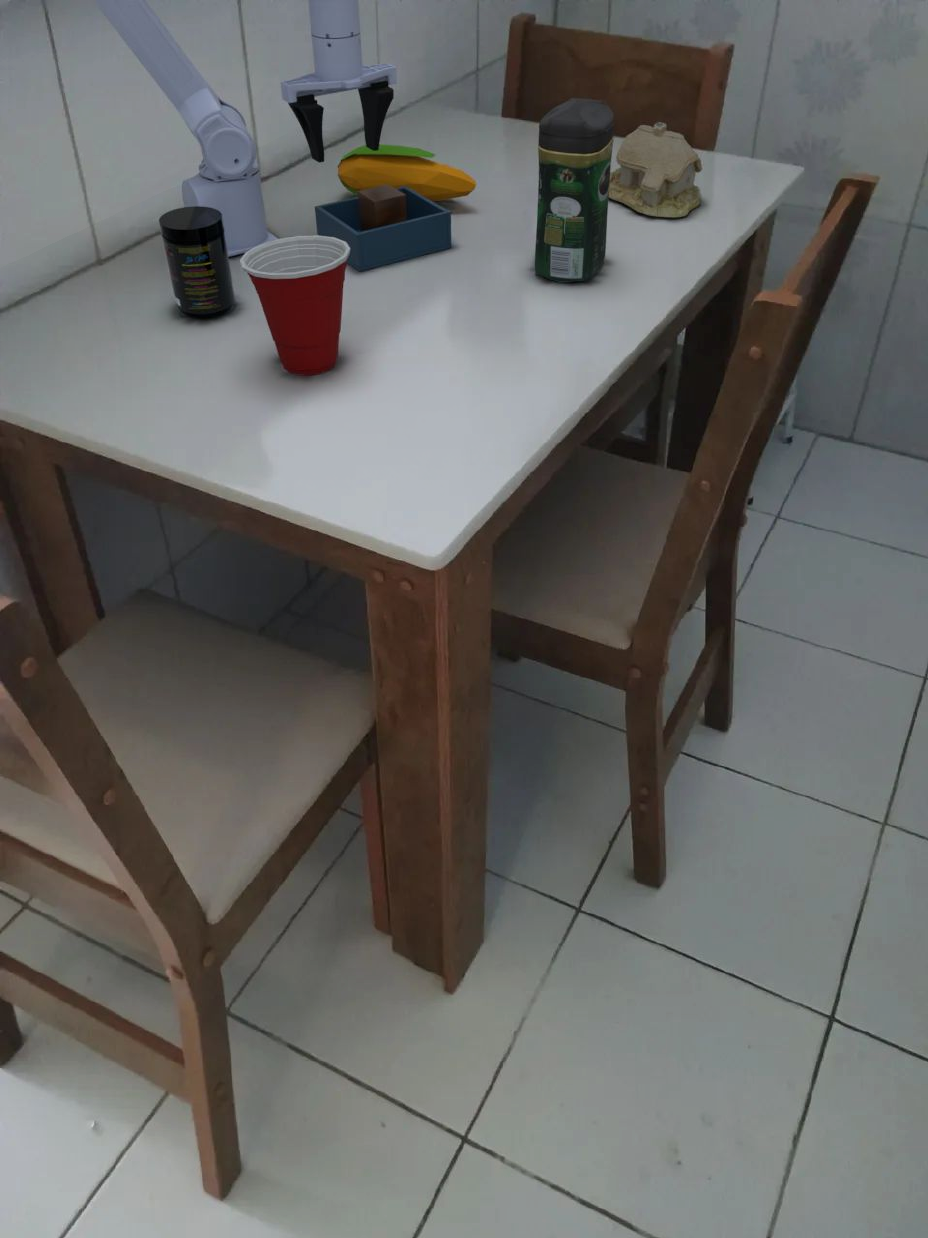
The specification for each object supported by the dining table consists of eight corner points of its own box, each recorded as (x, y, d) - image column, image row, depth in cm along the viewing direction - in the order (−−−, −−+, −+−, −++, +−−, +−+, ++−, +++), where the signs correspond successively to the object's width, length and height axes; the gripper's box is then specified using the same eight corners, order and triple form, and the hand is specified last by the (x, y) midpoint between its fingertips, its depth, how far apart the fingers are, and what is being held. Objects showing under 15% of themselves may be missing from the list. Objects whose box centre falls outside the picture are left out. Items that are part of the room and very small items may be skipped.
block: (377, 250, 132) (374, 201, 128) (361, 238, 135) (357, 190, 131) (408, 242, 134) (406, 194, 130) (391, 231, 137) (388, 183, 133)
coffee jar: (549, 249, 133) (556, 89, 121) (610, 257, 131) (624, 95, 119) (525, 279, 126) (530, 113, 114) (589, 289, 124) (601, 120, 112)
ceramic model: (717, 201, 145) (729, 124, 138) (670, 224, 139) (679, 144, 132) (634, 177, 152) (641, 103, 146) (585, 199, 146) (590, 121, 140)
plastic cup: (308, 329, 117) (296, 220, 109) (380, 357, 112) (373, 245, 104) (234, 366, 111) (215, 253, 103) (306, 398, 106) (292, 282, 98)
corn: (347, 128, 146) (485, 142, 141) (353, 184, 151) (486, 199, 146) (325, 149, 141) (467, 164, 136) (332, 205, 146) (469, 222, 141)
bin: (359, 271, 129) (356, 234, 126) (318, 241, 136) (314, 206, 133) (451, 247, 134) (451, 211, 131) (407, 219, 141) (405, 185, 138)
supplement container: (246, 312, 121) (231, 220, 114) (189, 327, 118) (171, 234, 111) (223, 291, 125) (208, 201, 118) (168, 304, 122) (149, 214, 115)
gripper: (294, 48, 118) (307, 174, 127) (406, 30, 124) (411, 151, 133) (267, 36, 123) (282, 158, 132) (377, 19, 129) (384, 137, 138)
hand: (345, 154), depth 133 cm, fingers open, 7 cm apart
